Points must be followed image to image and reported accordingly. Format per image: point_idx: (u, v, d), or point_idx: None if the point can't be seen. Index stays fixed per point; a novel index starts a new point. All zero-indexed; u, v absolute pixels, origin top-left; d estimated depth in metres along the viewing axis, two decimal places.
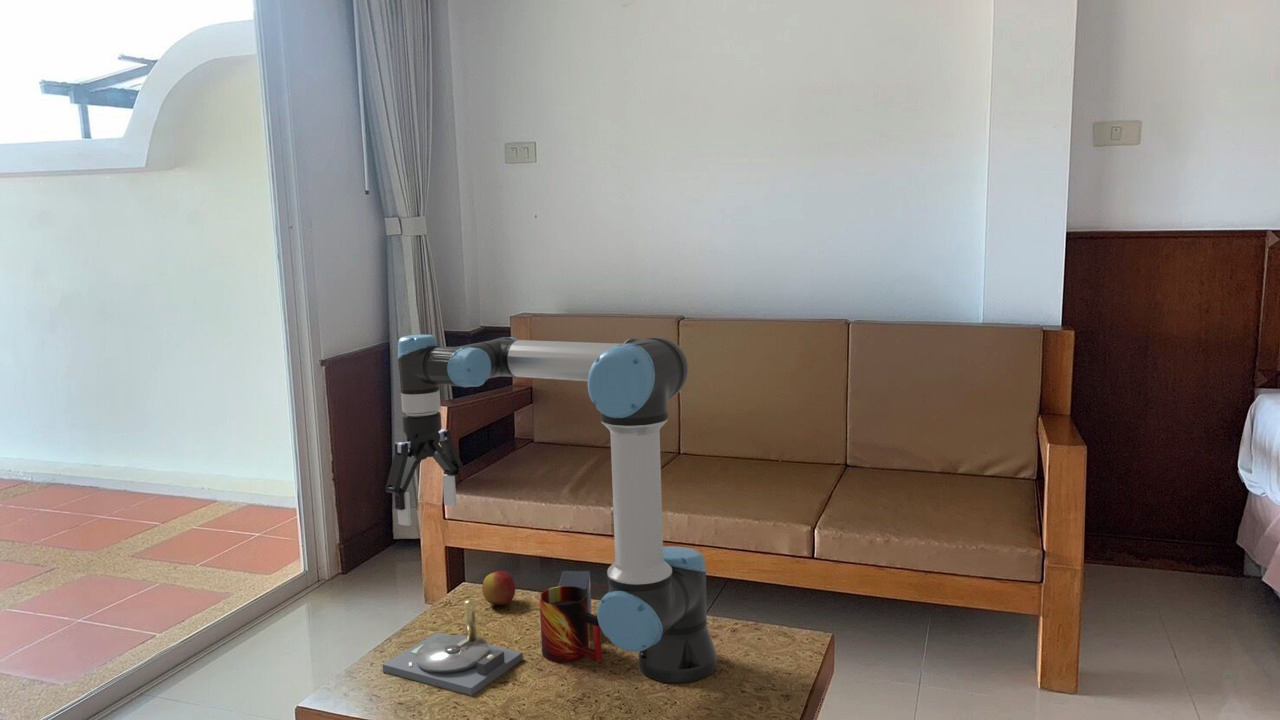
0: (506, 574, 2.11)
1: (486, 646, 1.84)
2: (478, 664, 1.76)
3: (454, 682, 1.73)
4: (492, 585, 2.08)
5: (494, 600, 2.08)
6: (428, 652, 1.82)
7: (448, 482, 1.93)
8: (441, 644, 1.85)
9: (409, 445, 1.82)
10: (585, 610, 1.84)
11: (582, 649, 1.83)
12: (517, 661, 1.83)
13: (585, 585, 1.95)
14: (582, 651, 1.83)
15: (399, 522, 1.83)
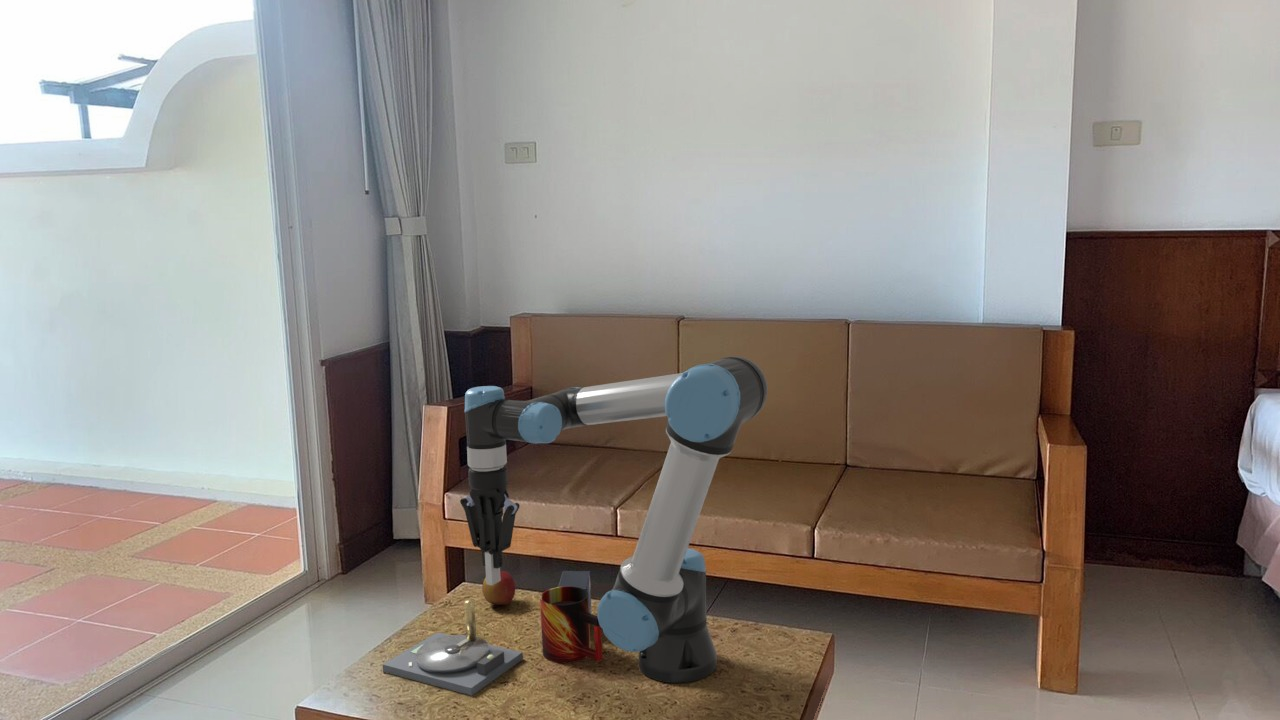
0: (506, 574, 2.11)
1: (486, 646, 1.84)
2: (478, 664, 1.76)
3: (454, 682, 1.73)
4: (492, 585, 2.08)
5: (494, 600, 2.08)
6: (428, 652, 1.82)
7: None
8: (441, 644, 1.85)
9: (470, 497, 1.82)
10: (586, 610, 1.84)
11: (583, 649, 1.83)
12: (517, 661, 1.83)
13: (585, 585, 1.95)
14: (583, 651, 1.83)
15: None
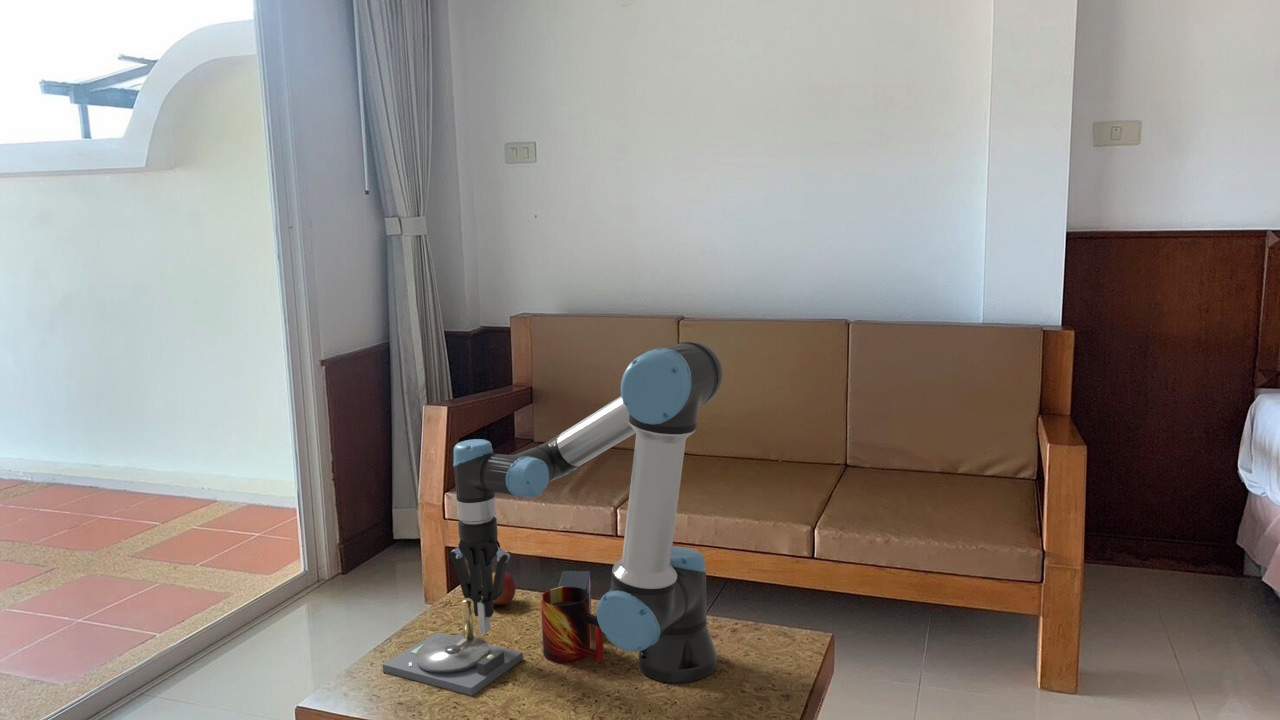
0: (506, 574, 2.11)
1: (486, 644, 1.84)
2: (478, 664, 1.76)
3: (454, 682, 1.73)
4: None
5: (494, 600, 2.08)
6: (427, 653, 1.81)
7: None
8: (440, 645, 1.85)
9: (459, 550, 1.84)
10: (587, 611, 1.84)
11: (584, 650, 1.83)
12: (517, 661, 1.83)
13: (585, 585, 1.95)
14: (584, 652, 1.83)
15: None
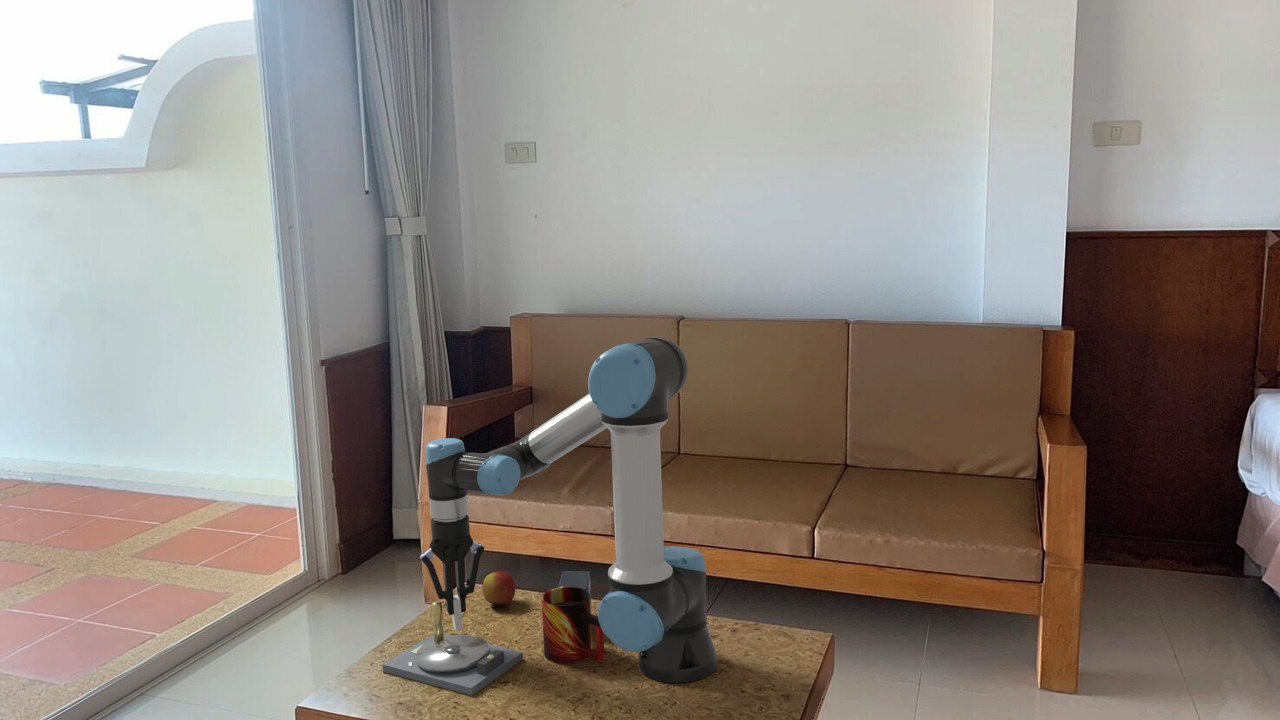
0: (506, 574, 2.11)
1: (465, 635, 1.89)
2: (478, 664, 1.76)
3: (454, 682, 1.73)
4: (492, 585, 2.08)
5: (494, 600, 2.08)
6: (441, 661, 1.78)
7: None
8: (434, 654, 1.81)
9: (431, 552, 1.84)
10: (587, 611, 1.84)
11: (584, 650, 1.82)
12: (517, 661, 1.83)
13: (585, 585, 1.95)
14: (584, 652, 1.83)
15: (453, 625, 1.89)
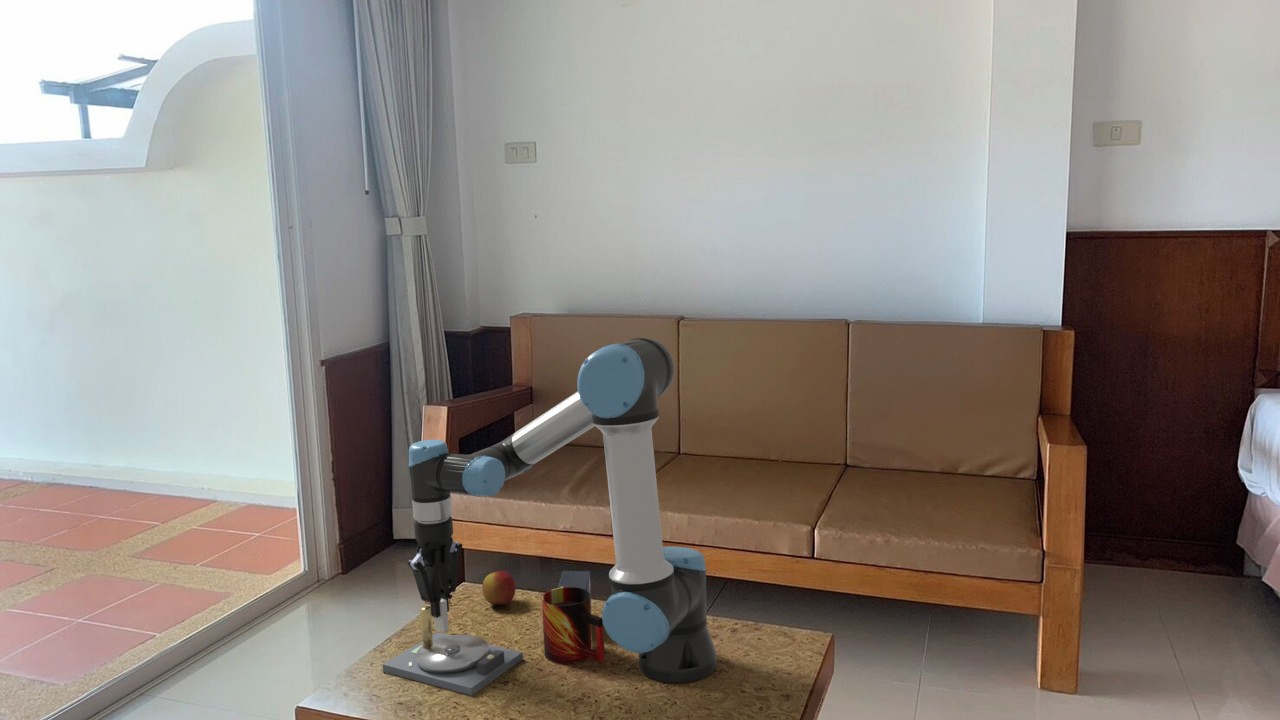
0: (506, 574, 2.11)
1: (449, 636, 1.89)
2: (478, 664, 1.76)
3: (454, 682, 1.73)
4: (492, 585, 2.08)
5: (494, 600, 2.08)
6: (453, 660, 1.78)
7: None
8: (438, 657, 1.80)
9: (421, 557, 1.81)
10: (588, 611, 1.84)
11: (585, 650, 1.82)
12: (517, 661, 1.83)
13: (585, 585, 1.95)
14: (585, 652, 1.82)
15: (435, 628, 1.88)
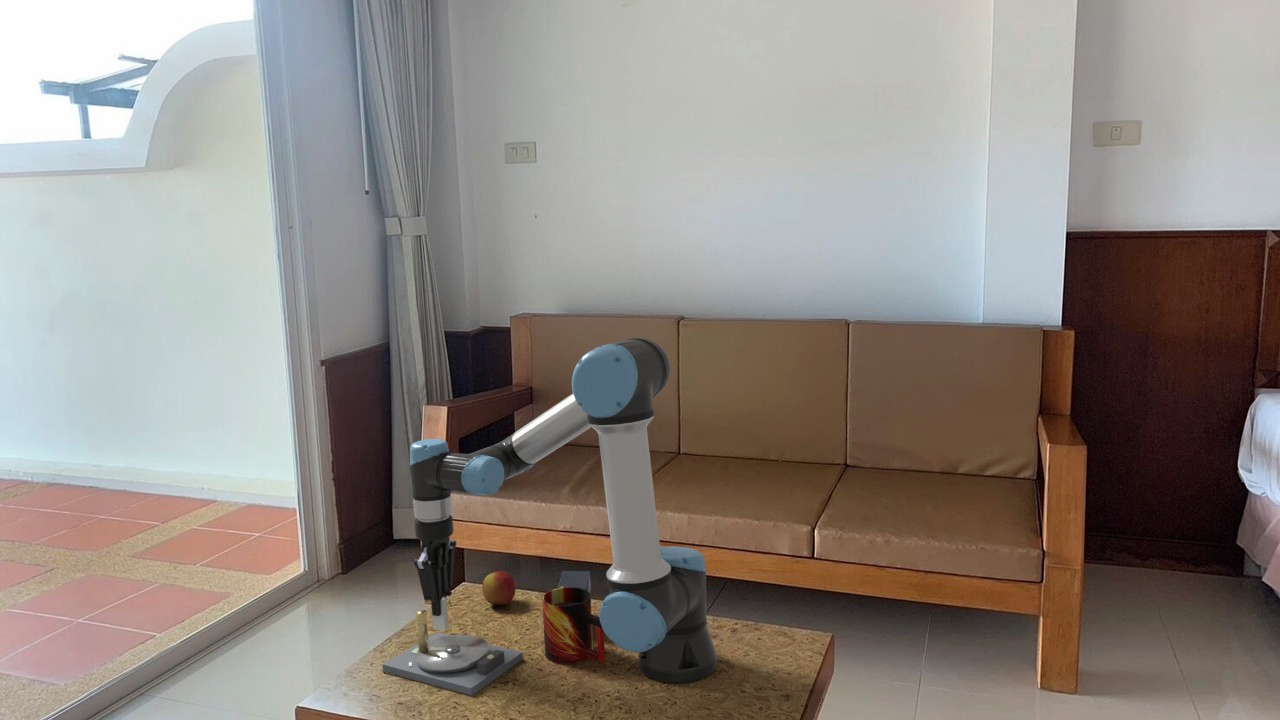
0: (506, 574, 2.11)
1: (438, 638, 1.88)
2: (478, 664, 1.76)
3: (454, 682, 1.73)
4: (492, 585, 2.08)
5: (494, 600, 2.08)
6: (461, 659, 1.78)
7: None
8: (443, 658, 1.79)
9: (426, 555, 1.83)
10: (588, 611, 1.84)
11: (585, 650, 1.82)
12: (517, 661, 1.83)
13: (585, 585, 1.95)
14: (585, 652, 1.82)
15: (434, 627, 1.89)
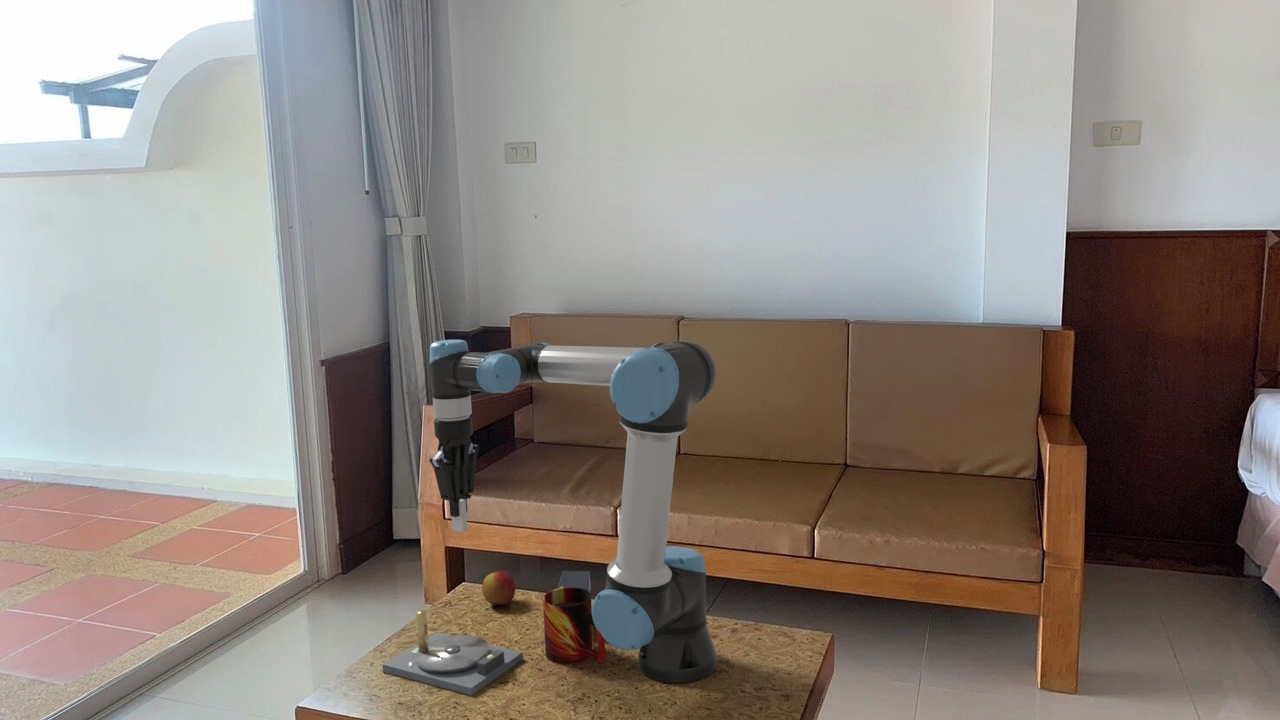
0: (506, 574, 2.11)
1: (438, 638, 1.88)
2: (478, 664, 1.76)
3: (454, 682, 1.73)
4: (492, 585, 2.08)
5: (494, 600, 2.08)
6: (461, 659, 1.78)
7: None
8: (443, 658, 1.79)
9: (442, 454, 1.83)
10: (589, 611, 1.83)
11: (586, 651, 1.82)
12: (517, 661, 1.83)
13: (585, 585, 1.95)
14: (586, 653, 1.82)
15: (453, 529, 1.89)
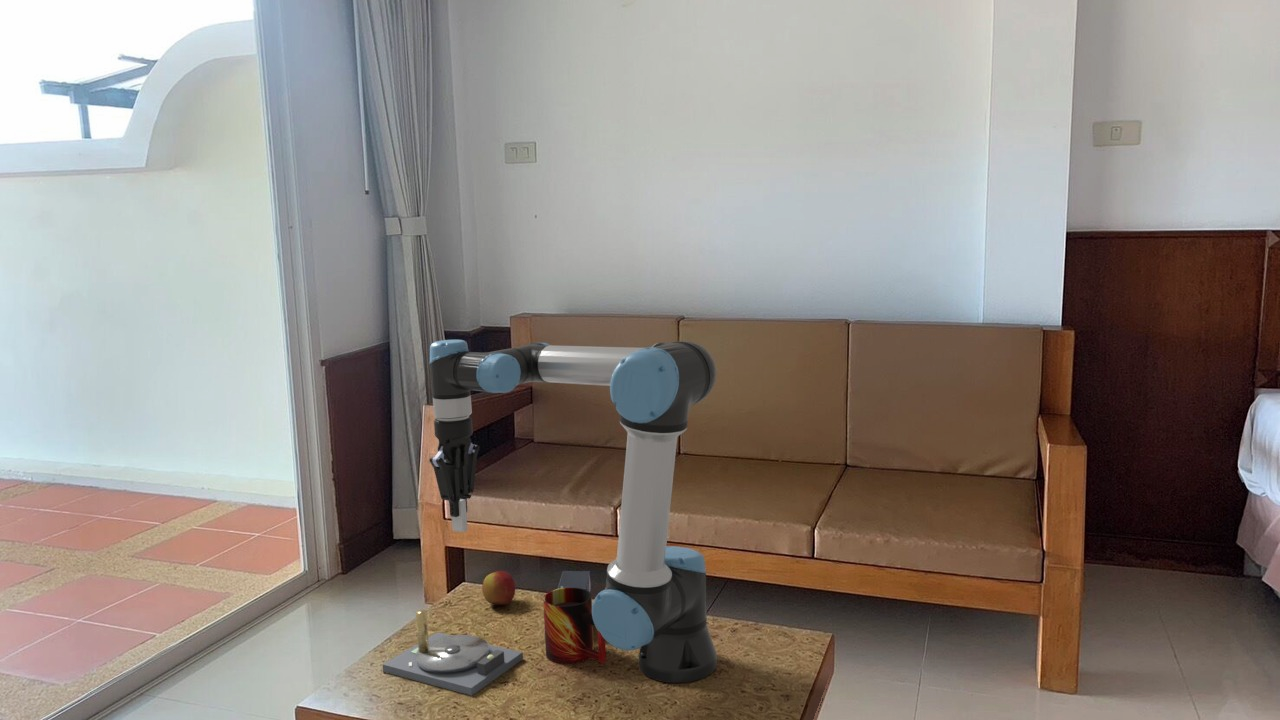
0: (506, 574, 2.11)
1: (438, 638, 1.88)
2: (478, 664, 1.76)
3: (454, 682, 1.73)
4: (492, 585, 2.08)
5: (494, 600, 2.08)
6: (461, 659, 1.78)
7: None
8: (443, 658, 1.79)
9: (442, 454, 1.83)
10: (589, 612, 1.83)
11: (586, 651, 1.82)
12: (517, 661, 1.83)
13: (585, 585, 1.95)
14: (586, 653, 1.82)
15: (453, 529, 1.89)
